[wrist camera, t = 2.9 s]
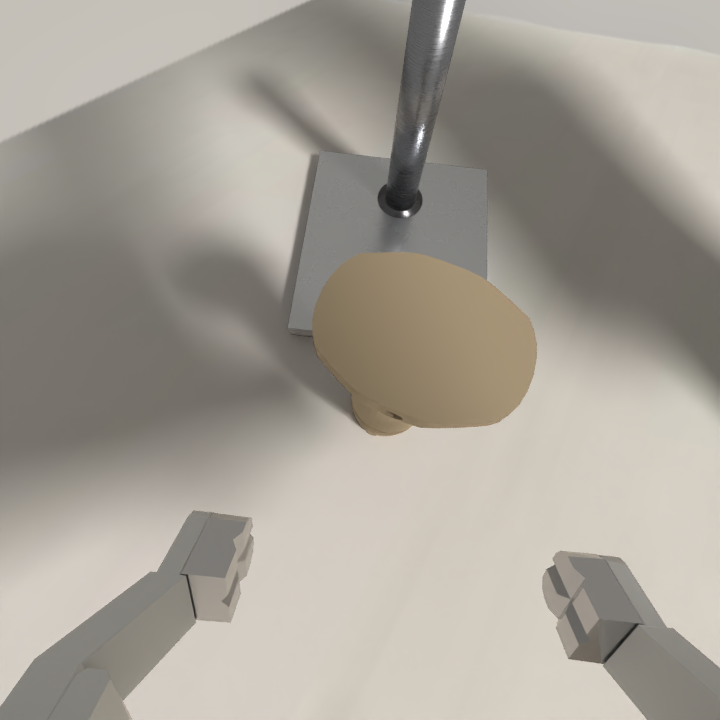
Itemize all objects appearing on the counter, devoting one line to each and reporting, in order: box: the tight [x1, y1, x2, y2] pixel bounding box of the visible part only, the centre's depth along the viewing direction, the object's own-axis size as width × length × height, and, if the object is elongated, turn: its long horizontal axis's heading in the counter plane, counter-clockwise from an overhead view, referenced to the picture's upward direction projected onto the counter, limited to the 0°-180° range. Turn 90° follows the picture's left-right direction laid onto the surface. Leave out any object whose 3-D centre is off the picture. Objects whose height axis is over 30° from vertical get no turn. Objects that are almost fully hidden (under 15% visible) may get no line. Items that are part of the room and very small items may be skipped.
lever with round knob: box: [385, 0, 466, 211], centre depth 21 cm, size 3×3×16 cm
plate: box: [288, 151, 487, 336], centre depth 28 cm, size 14×16×1 cm
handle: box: [312, 252, 537, 436], centre depth 17 cm, size 5×6×15 cm
